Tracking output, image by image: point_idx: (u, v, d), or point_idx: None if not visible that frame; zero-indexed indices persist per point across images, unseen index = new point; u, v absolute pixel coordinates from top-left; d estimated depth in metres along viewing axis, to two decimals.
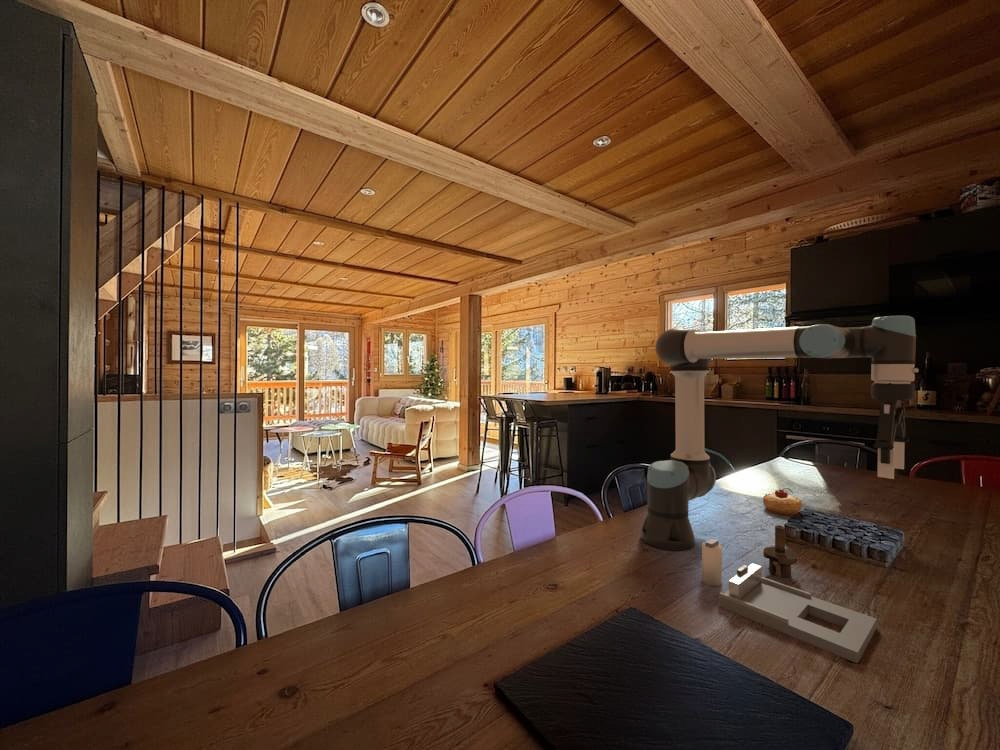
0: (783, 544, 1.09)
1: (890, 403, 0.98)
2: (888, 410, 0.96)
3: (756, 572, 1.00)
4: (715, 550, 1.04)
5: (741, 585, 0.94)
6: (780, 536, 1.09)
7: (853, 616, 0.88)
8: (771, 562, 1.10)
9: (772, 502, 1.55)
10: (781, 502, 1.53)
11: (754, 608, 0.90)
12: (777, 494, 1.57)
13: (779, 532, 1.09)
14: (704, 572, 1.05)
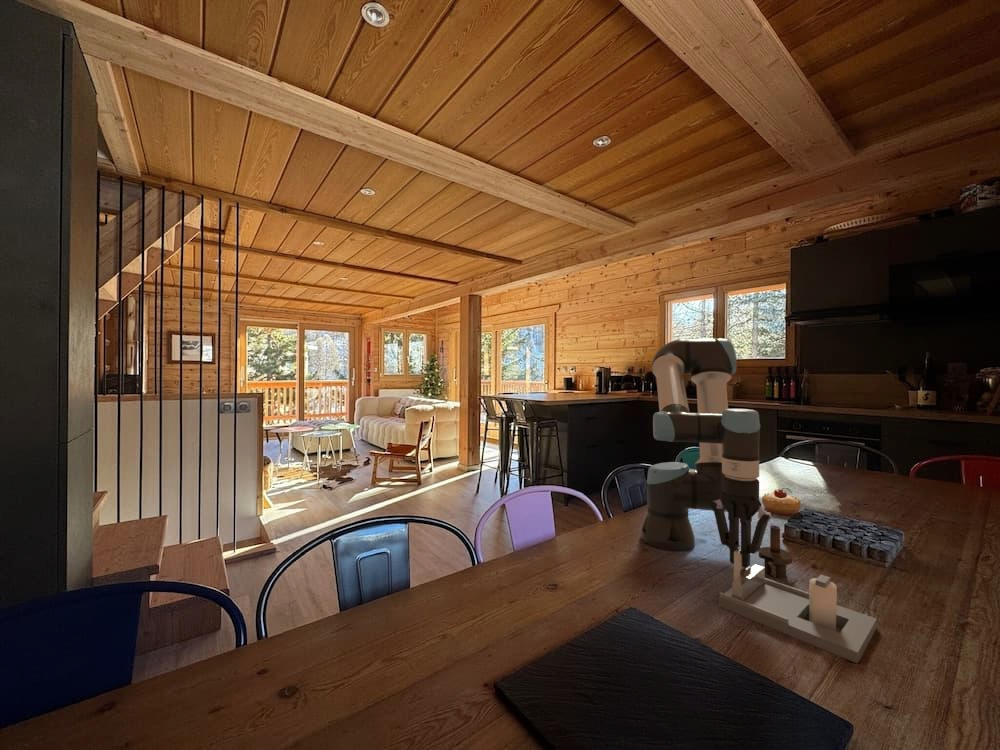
0: (778, 544, 1.09)
1: None
2: None
3: (759, 573, 0.99)
4: (830, 591, 0.85)
5: (745, 587, 0.94)
6: (775, 536, 1.09)
7: (853, 616, 0.88)
8: (766, 562, 1.10)
9: (771, 502, 1.55)
10: (780, 502, 1.53)
11: (754, 608, 0.90)
12: (776, 494, 1.57)
13: (775, 532, 1.09)
14: (814, 616, 0.87)
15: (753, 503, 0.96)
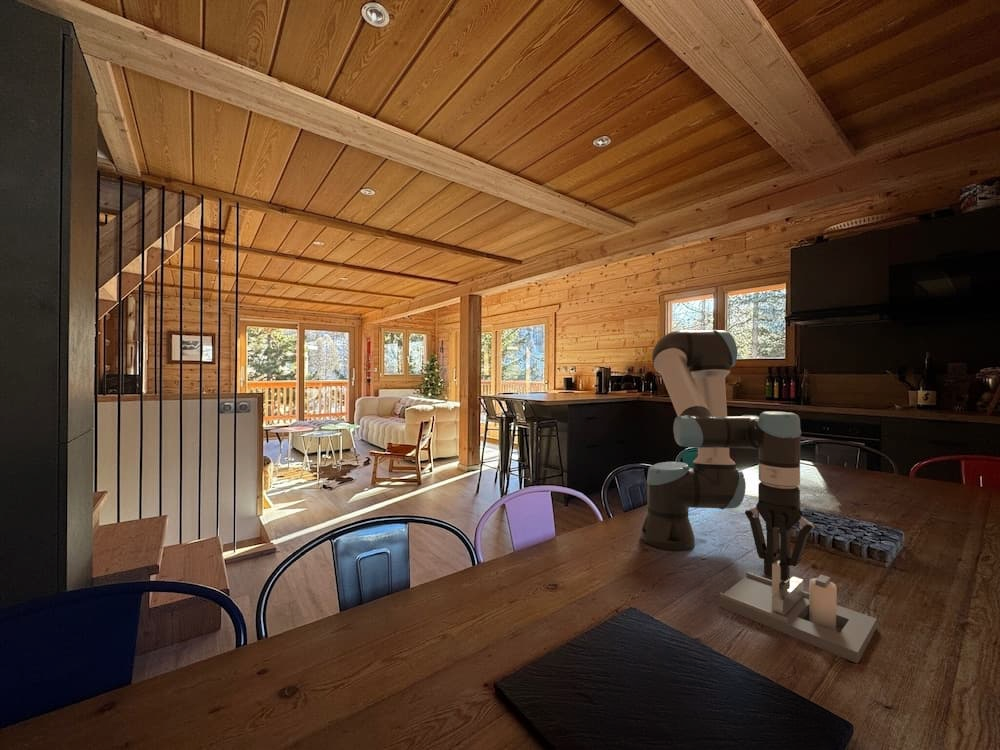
0: (778, 544, 1.09)
1: None
2: None
3: (798, 586, 0.93)
4: (830, 591, 0.85)
5: (785, 601, 0.88)
6: None
7: (853, 616, 0.88)
8: (766, 562, 1.10)
9: None
10: None
11: (754, 608, 0.90)
12: None
13: None
14: (814, 616, 0.87)
15: (794, 512, 0.90)
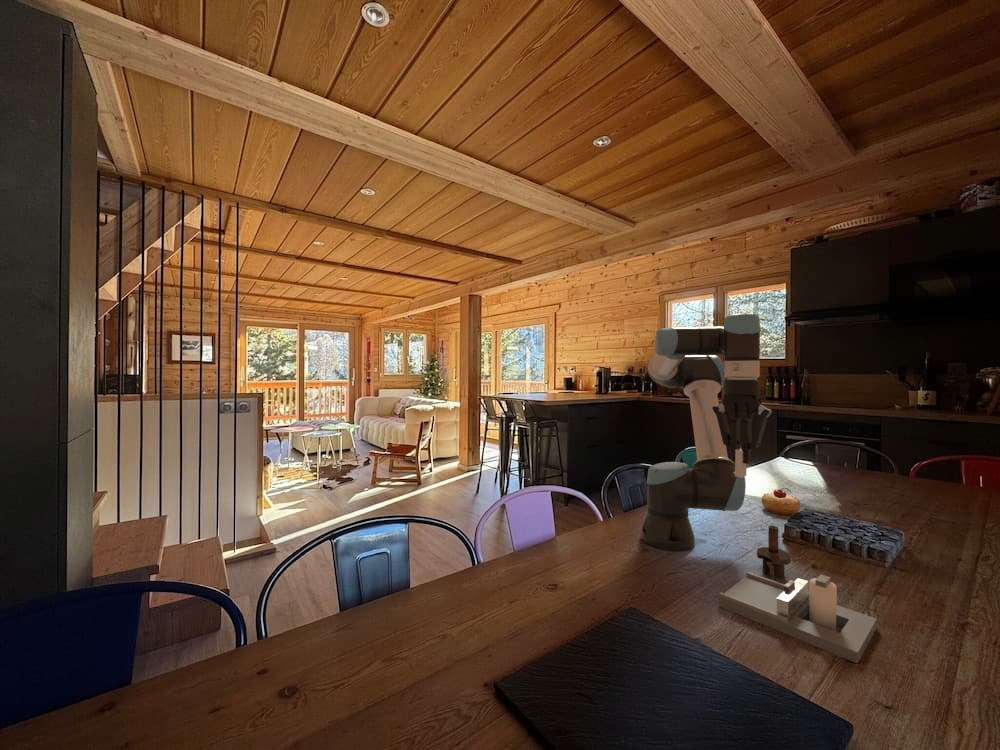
0: (776, 544, 1.09)
1: None
2: None
3: (804, 588, 0.92)
4: (830, 591, 0.85)
5: (791, 603, 0.87)
6: (773, 536, 1.09)
7: (853, 616, 0.88)
8: (765, 562, 1.10)
9: (771, 502, 1.55)
10: (780, 502, 1.53)
11: (754, 608, 0.90)
12: (776, 494, 1.57)
13: (773, 532, 1.09)
14: (814, 616, 0.87)
15: (754, 401, 1.01)
